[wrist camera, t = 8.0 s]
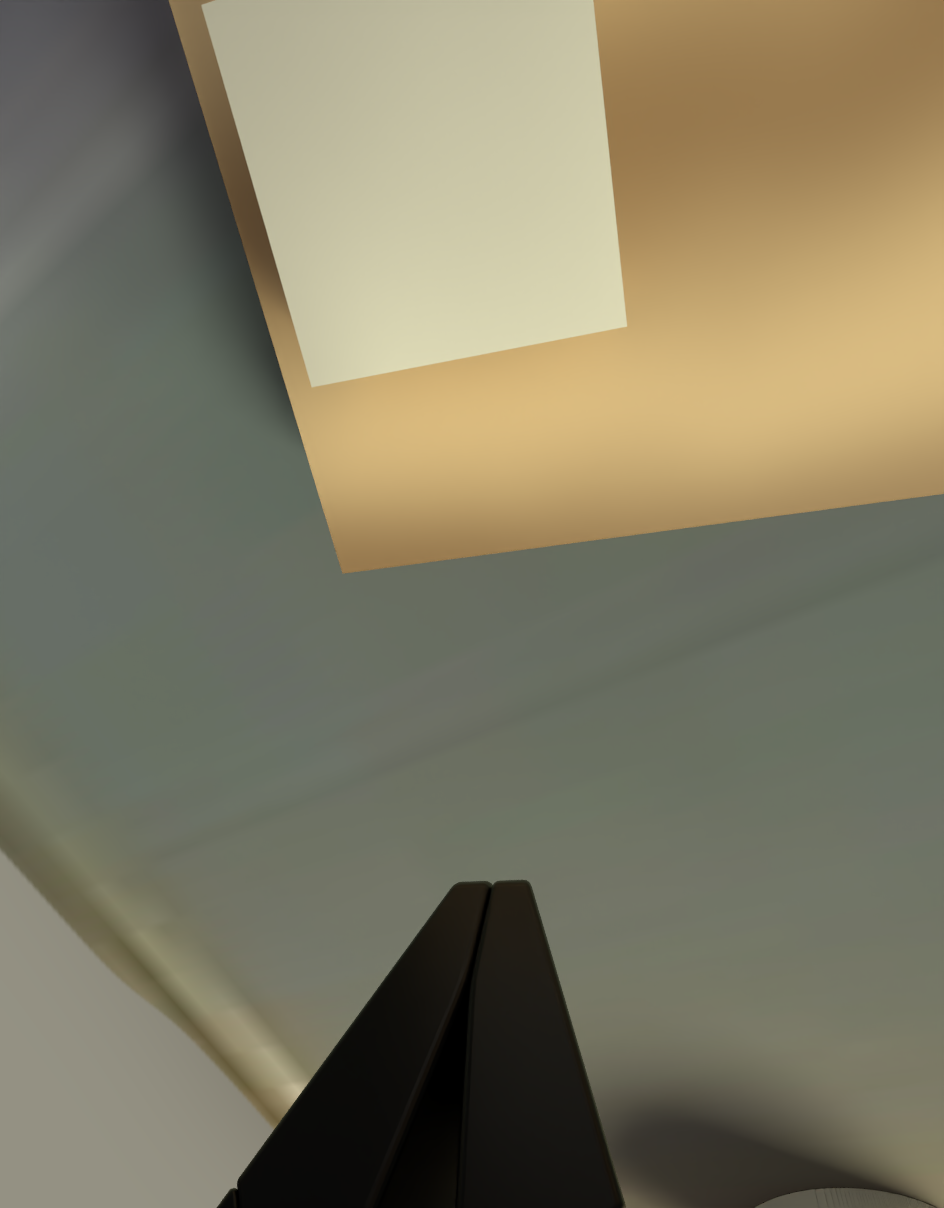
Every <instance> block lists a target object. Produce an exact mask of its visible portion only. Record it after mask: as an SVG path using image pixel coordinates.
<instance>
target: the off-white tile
mask: <svg viewBox="0 0 944 1208" xmlns="http://www.w3.org/2000/svg"><path fill="white" fill-rule="evenodd" d="M201 6H202V10H203V13H204V17H205V20H206V23H207V27H208V30H209V34H210V37H211V41H212V44H213V48H214V51H215V55H216V58H217V62H218V65H219V68H220V72H221V75H222V79H223V82H224V86H225V89H226V93H227V96H228V100H229V103H230V107H231V110H232V113H233V117H234V120H235V124H236V127H237V131H238V134H239V138H240V141H241V145H242V148H243V152H244V155H245V158H246V162H247V165H248V169H249V172H250V176H251V179H252V183H253V186H254V190H255V193H256V197H257V200H258V203H259V207H260V210H261V214H262V217H263V221H264V224H265V228H266V231H267V235H268V238H269V242H270V245H271V248H272V252H273V255H274V259H275V262H276V266H277V269H278V273H279V276H280V280H281V283H282V287H283V290H284V293H285V297H286V300H287V304H288V307H289V311H290V314H291V318H292V321H293V325H294V328H295V332H296V335H297V338H298V342H299V345H300V349H301V352H302V356H303V359H304V363H305V366H306V370H307V373H308V377H309V380H310V383H311V387H316V386H322V385H327V384H332V383H337V382H342V381H347V380H353V379H358V378H363V377H368V376H373V375H379V374H384V373H389V372H394V371H399V370H404V369H410V368H415V367H420V366H425V365H430V364H436V363H441V362H446V361H451V360H456V359H462V358H467V357H472V356H477V355H482V354H487V353H493V352H498V351H503V350H508V349H513V348H519V347H524V346H529V345H534V344H539V343H544V342H550V341H555V340H560V339H565V338H570V337H576V336H581V335H586V334H591V333H596V332H602V331H607V330H612V329H617V328H622V327H627V320H626V311H625V301H624V291H623V282H622V272H621V262H620V253H619V243H618V233H617V224H616V214H615V205H614V195H613V185H612V176H611V166H610V156H609V147H608V137H607V127H606V118H605V108H604V98H603V89H602V79H601V69H600V60H599V50H598V40H597V31H596V21H595V11H594V2H593V0H215V1H212V2H209V3H206V4H202V5H201Z"/></svg>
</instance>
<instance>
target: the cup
mask: <svg viewBox="0 0 944 1208" xmlns="http://www.w3.org/2000/svg"><path fill="white" fill-rule="evenodd" d="M755 1208H936V1207H934V1206H932V1205H928V1204H926V1203H924V1202H921V1201H918V1200H916V1199H912V1198H908V1197H906V1196H903V1195H898V1194H893V1193H892V1194H891V1193H888V1192H883V1191H882V1192H881V1191H876V1190H867V1189H858V1188H856V1189H855V1188H852V1189H851V1188H826V1189H823V1188H822V1189H816V1190H815V1189H812V1190H806V1191H800V1192H794V1193H791V1194H787V1195H783V1196H779V1197H777V1198H774V1199H771V1200H768V1201H766V1202H764V1203H762V1204H761V1205H759V1206H757V1207H755Z"/></svg>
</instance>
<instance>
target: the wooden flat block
mask: <svg viewBox="0 0 944 1208" xmlns="http://www.w3.org/2000/svg"><path fill="white" fill-rule="evenodd" d="M212 1H215V0H169V3H170V6H171V10H172V13H173V16H174V19H175V23H176V26H177V29H178V33H179V36H180V39H181V42H182V46H183V49H184V52H185V56H186V59H187V62H188V66H189V69H190V72H191V75H192V79H193V82H194V85H195V89H196V92H197V95H198V98H199V102H200V105H201V108H202V112H203V115H204V118H205V122H206V125H207V128H208V131H209V135H210V138H211V141H212V145H213V148H214V151H215V154H216V158H217V161H218V164H219V168H220V171H221V174H222V178H223V181H224V184H225V187H226V191H227V194H228V197H229V201H230V204H231V207H232V210H233V214H234V217H235V220H236V224H237V227H238V230H239V234H240V237H241V240H242V243H243V247H244V250H245V253H246V257H247V260H248V263H249V266H250V270H251V273H252V276H253V280H254V283H255V286H256V290H257V293H258V296H259V299H260V303H261V306H262V309H263V313H264V316H265V319H266V322H267V326H268V329H269V332H270V336H271V339H272V342H273V346H274V349H275V352H276V355H277V359H278V362H279V365H280V369H281V372H282V375H283V378H284V382H285V385H286V388H287V392H288V395H289V398H290V402H291V405H292V408H293V411H294V415H295V418H296V421H297V425H298V428H299V431H300V434H301V438H302V441H303V444H304V448H305V451H306V454H307V458H308V461H309V464H310V467H311V471H312V474H313V477H314V481H315V484H316V487H317V490H318V494H319V497H320V500H321V504H322V507H323V510H324V514H325V517H326V520H327V523H328V527H329V530H330V533H331V537H332V540H333V543H334V546H335V550H336V553H337V556H338V560H339V563H340V566H341V570H342V573H350V572H358V571H365V570H373V569H380V568H388V567H395V566H403V565H410V564H418V563H426V562H433V561H441V560H448V559H456V558H463V557H471V556H478V555H486V554H493V553H501V552H508V551H516V550H523V549H531V548H539V547H546V546H554V545H561V544H569V543H576V542H584V541H591V540H599V539H606V538H614V537H621V536H629V535H636V534H644V533H652V532H659V531H667V530H674V529H682V528H689V527H697V526H704V525H712V524H719V523H727V522H734V521H742V520H749V519H757V518H765V517H772V516H780V515H787V514H795V513H802V512H810V511H817V510H825V509H832V508H840V507H847V506H855V505H862V504H870V503H878V502H885V501H893V500H900V499H908V498H915V497H923V496H930V495H938V494H944V0H593V2H594V11H595V21H596V31H597V40H598V50H599V60H600V69H601V79H602V89H603V98H604V108H605V118H606V127H607V137H608V147H609V156H610V166H611V176H612V185H613V195H614V205H615V214H616V224H617V233H618V243H619V253H620V262H621V272H622V282H623V291H624V301H625V311H626V320H627V327H622V328H617V329H612V330H607V331H602V332H596V333H591V334H586V335H581V336H576V337H570V338H565V339H560V340H555V341H550V342H544V343H539V344H534V345H529V346H524V347H519V348H513V349H508V350H503V351H498V352H493V353H487V354H482V355H477V356H472V357H467V358H462V359H456V360H451V361H446V362H441V363H436V364H430V365H425V366H420V367H415V368H410V369H404V370H399V371H394V372H389V373H384V374H379V375H373V376H368V377H363V378H358V379H353V380H347V381H342V382H337V383H332V384H327V385H322V386H316V387H311V383H310V380H309V377H308V373H307V370H306V366H305V363H304V359H303V356H302V352H301V349H300V345H299V342H298V338H297V335H296V332H295V328H294V325H293V321H292V318H291V314H290V311H289V307H288V304H287V300H286V297H285V293H284V290H283V287H282V283H281V280H280V276H279V273H278V269H277V266H276V262H275V259H274V255H273V252H272V248H271V245H270V242H269V238H268V235H267V231H266V228H265V224H264V221H263V217H262V214H261V210H260V207H259V203H258V200H257V197H256V193H255V190H254V186H253V183H252V179H251V176H250V172H249V169H248V165H247V162H246V158H245V155H244V152H243V148H242V145H241V141H240V138H239V134H238V131H237V127H236V124H235V120H234V117H233V113H232V110H231V107H230V103H229V100H228V96H227V93H226V89H225V86H224V82H223V79H222V75H221V72H220V68H219V65H218V62H217V58H216V55H215V51H214V48H213V44H212V41H211V37H210V34H209V30H208V27H207V23H206V20H205V17H204V13H203V10H202V6H201V5H202V4H206V3H209V2H212Z"/></svg>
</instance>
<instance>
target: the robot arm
mask: <svg viewBox="0 0 944 1208" xmlns="http://www.w3.org/2000/svg"><path fill="white" fill-rule="evenodd" d="M237 1188H238V1190H237V1189H236V1188H233V1189H230V1190H229V1192H228V1193H227V1194H226V1196H225V1197H224V1199H223V1200H222V1201H221V1203H220V1204H219V1205H218V1207H217V1208H626V1206H625V1202H624V1198H623V1195H622V1192H621V1188H620V1185H619V1181H618V1178H617V1175H616V1171H615V1168H614V1165H613V1161H612V1158H611V1154H610V1151H609V1148H608V1144H607V1141H606V1137H605V1134H604V1131H603V1127H602V1124H601V1120H600V1117H599V1114H598V1110H597V1107H596V1103H595V1100H594V1097H593V1093H592V1090H591V1086H590V1083H589V1080H588V1076H587V1073H586V1069H585V1066H584V1063H583V1059H582V1056H581V1053H580V1049H579V1046H578V1042H577V1039H576V1036H575V1032H574V1029H573V1025H572V1022H571V1019H570V1015H569V1012H568V1008H567V1005H566V1002H565V998H564V995H563V991H562V988H561V985H560V981H559V978H558V974H557V971H556V968H555V964H554V961H553V957H552V954H551V951H550V947H549V944H548V940H547V937H546V934H545V930H544V927H543V924H542V920H541V917H540V913H539V910H538V907H537V903H536V900H535V896H534V893H533V890H532V886H531V884H530V883H529V882H528V881H527V880H506V881H497V882H495V883H494V884H493V885H492V884H491V883H490V882H487V881H474V882H459V883H457V884H455V885H454V886H453V887H452V888H451V889H450V890H449V892H448V893H447V894H446V896H445V897H444V899H443V900H442V901H441V903H440V904H439V905H438V907H437V908H436V910H435V911H434V912H433V914H432V915H431V916H430V918H429V919H428V920H427V922H426V923H425V925H424V926H423V927H422V929H421V930H420V931H419V933H418V934H417V935H416V937H415V938H414V940H413V941H412V942H411V944H410V945H409V946H408V948H407V949H406V950H405V952H404V953H403V955H402V956H401V957H400V959H399V960H398V961H397V963H396V964H395V966H394V967H393V968H392V970H391V971H390V972H389V974H388V975H387V976H386V978H385V979H384V981H383V982H382V983H381V985H380V986H379V987H378V989H377V990H376V991H375V993H374V994H373V996H372V997H371V998H370V1000H369V1001H368V1002H367V1004H366V1005H365V1006H364V1008H363V1009H362V1011H361V1012H360V1013H359V1015H358V1016H357V1017H356V1019H355V1020H354V1022H353V1023H352V1024H351V1026H350V1027H349V1028H348V1030H347V1031H346V1032H345V1034H344V1035H343V1037H342V1038H341V1039H340V1041H339V1042H338V1043H337V1045H336V1046H335V1047H334V1049H333V1050H332V1052H331V1053H330V1054H329V1056H328V1057H327V1058H326V1060H325V1061H324V1062H323V1064H322V1065H321V1067H320V1068H319V1069H318V1071H317V1072H316V1073H315V1075H314V1076H313V1078H312V1079H311V1080H310V1082H309V1083H308V1084H307V1086H306V1087H305V1088H304V1090H303V1091H302V1093H301V1094H300V1095H299V1097H298V1098H297V1099H296V1101H295V1102H294V1103H293V1105H292V1106H291V1108H290V1109H289V1110H288V1112H287V1113H286V1114H285V1116H284V1117H283V1118H282V1120H281V1121H280V1123H279V1124H278V1125H277V1127H276V1128H275V1129H274V1131H273V1132H272V1134H271V1135H270V1136H269V1138H268V1139H267V1140H266V1142H265V1143H264V1145H263V1146H262V1147H261V1149H260V1150H259V1151H258V1153H257V1154H256V1155H255V1157H254V1158H253V1160H252V1161H251V1162H250V1164H249V1165H248V1166H247V1168H246V1169H245V1170H244V1172H243V1173H242V1175H241V1176H240V1177H239V1179H238V1181H237Z"/></svg>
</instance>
